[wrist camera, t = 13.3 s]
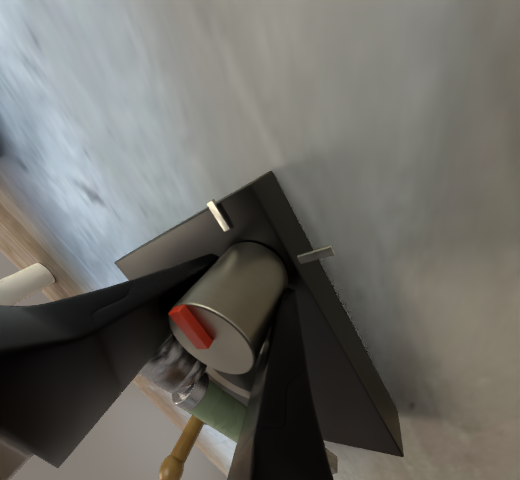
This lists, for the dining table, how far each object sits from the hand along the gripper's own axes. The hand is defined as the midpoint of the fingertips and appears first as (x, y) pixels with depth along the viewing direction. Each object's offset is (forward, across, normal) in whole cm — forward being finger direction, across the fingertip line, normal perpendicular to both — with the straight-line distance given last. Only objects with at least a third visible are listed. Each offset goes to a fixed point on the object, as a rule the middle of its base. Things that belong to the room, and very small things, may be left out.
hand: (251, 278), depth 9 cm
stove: (+3, -1, +7) cm, 7 cm away
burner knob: (0, 0, 0) cm, 0 cm away
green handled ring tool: (+1, -2, +12) cm, 12 cm away
